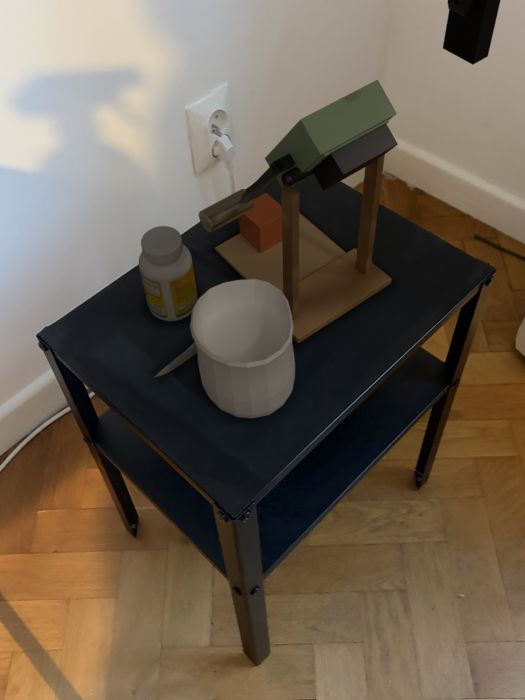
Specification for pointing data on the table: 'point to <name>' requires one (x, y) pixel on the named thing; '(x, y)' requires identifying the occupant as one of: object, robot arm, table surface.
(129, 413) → the table surface
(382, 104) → the tilting tray
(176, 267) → the supplement bottle
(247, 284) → the cup
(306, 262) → the mat
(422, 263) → the table surface
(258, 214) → the block
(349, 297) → the scoop stand
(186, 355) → the pocket knife
